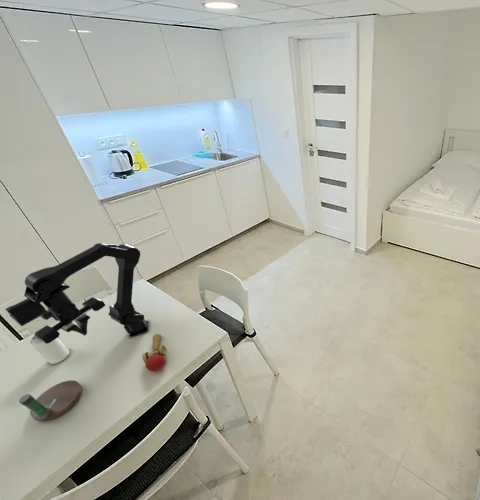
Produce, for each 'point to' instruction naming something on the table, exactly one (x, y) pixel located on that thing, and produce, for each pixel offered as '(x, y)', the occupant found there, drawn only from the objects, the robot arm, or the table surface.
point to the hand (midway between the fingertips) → (85, 334)
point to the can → (50, 350)
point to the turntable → (53, 400)
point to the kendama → (155, 355)
